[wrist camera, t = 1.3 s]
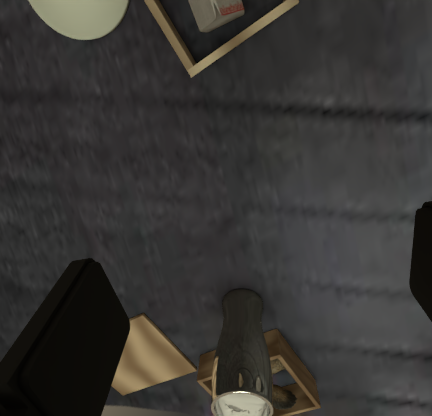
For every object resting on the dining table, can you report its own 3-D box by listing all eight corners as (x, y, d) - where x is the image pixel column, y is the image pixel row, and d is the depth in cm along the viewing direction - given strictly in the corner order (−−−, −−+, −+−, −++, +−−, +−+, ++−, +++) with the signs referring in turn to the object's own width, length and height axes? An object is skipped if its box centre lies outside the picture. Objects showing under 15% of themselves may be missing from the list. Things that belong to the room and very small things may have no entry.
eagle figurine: (249, 393, 54) (300, 395, 51) (234, 418, 48) (292, 422, 44) (240, 349, 55) (290, 347, 51) (224, 367, 49) (280, 367, 45)
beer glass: (232, 325, 48) (228, 433, 35) (210, 295, 45) (196, 399, 32) (274, 312, 46) (286, 421, 33) (253, 279, 43) (257, 384, 30)
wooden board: (143, 312, 48) (142, 315, 48) (197, 368, 54) (196, 370, 53) (68, 345, 54) (66, 347, 53) (123, 392, 59) (122, 395, 59)
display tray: (276, 328, 48) (279, 354, 44) (315, 380, 53) (320, 407, 49) (200, 355, 52) (196, 381, 48) (242, 400, 57) (242, 427, 53)
